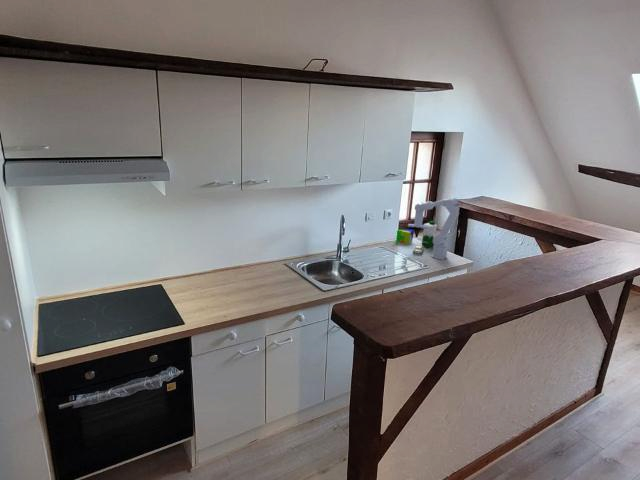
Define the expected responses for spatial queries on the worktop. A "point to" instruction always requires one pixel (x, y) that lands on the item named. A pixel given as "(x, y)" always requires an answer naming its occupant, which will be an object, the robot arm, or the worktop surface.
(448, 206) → the robot arm
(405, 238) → the puzzle toy
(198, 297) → the worktop surface
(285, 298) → the worktop surface
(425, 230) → the milk carton
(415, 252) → the key panel
